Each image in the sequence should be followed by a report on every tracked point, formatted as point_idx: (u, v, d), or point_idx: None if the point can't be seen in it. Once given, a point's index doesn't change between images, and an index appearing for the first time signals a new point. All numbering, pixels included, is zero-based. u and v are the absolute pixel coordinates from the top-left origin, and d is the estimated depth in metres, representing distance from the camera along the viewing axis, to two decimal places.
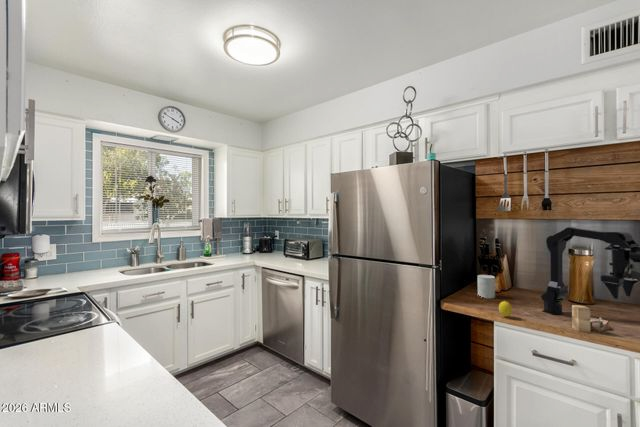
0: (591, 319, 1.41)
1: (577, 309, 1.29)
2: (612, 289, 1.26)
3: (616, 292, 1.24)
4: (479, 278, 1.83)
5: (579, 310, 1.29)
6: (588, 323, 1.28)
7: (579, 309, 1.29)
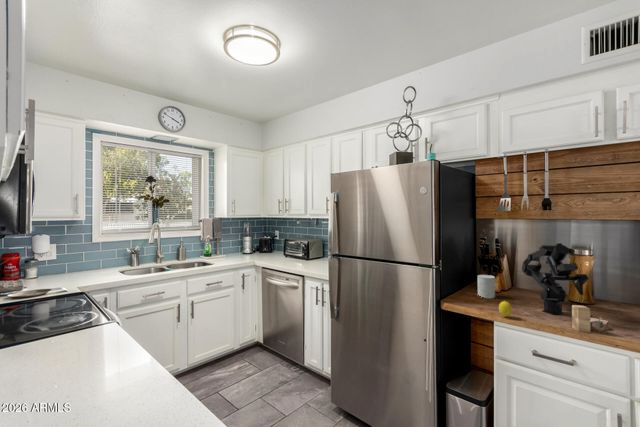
0: (591, 319, 1.41)
1: (577, 309, 1.29)
2: (552, 287, 1.42)
3: (554, 287, 1.40)
4: (479, 278, 1.83)
5: (579, 310, 1.29)
6: (588, 323, 1.28)
7: (579, 309, 1.29)
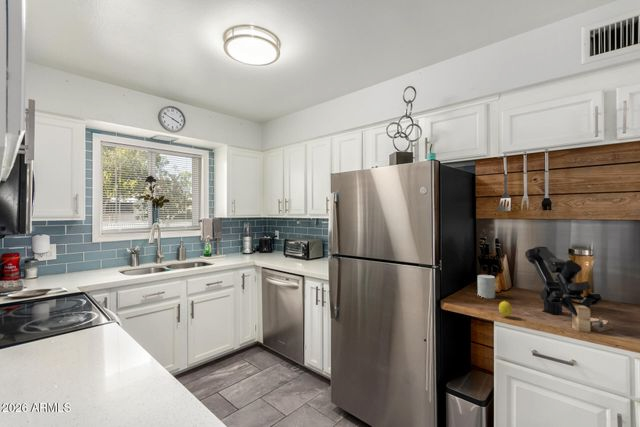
0: (591, 319, 1.41)
1: (577, 309, 1.29)
2: (569, 307, 1.33)
3: (571, 308, 1.31)
4: (479, 278, 1.83)
5: (579, 310, 1.29)
6: (588, 323, 1.28)
7: (579, 309, 1.29)
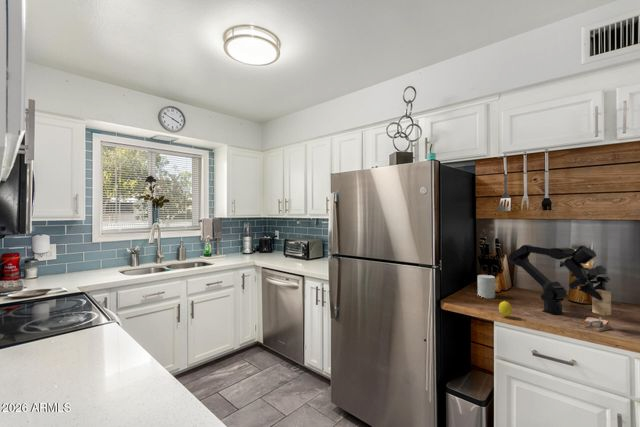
0: (591, 319, 1.41)
1: (602, 294, 1.30)
2: (591, 292, 1.33)
3: (595, 293, 1.31)
4: (479, 278, 1.83)
5: (604, 294, 1.30)
6: (609, 306, 1.31)
7: (604, 293, 1.30)
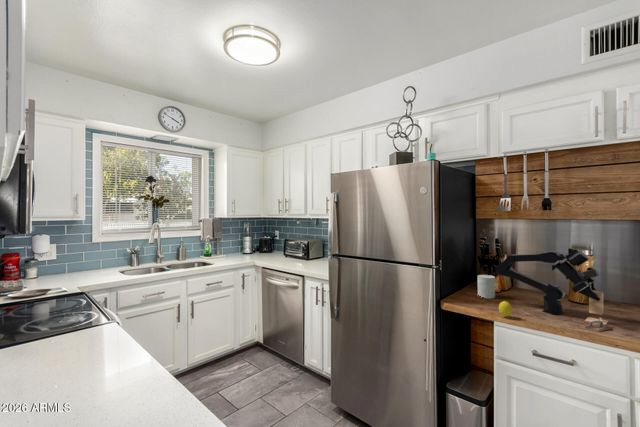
0: (591, 319, 1.41)
1: (599, 294, 1.37)
2: (589, 294, 1.39)
3: (594, 294, 1.38)
4: (479, 278, 1.83)
5: (602, 294, 1.37)
6: None
7: (601, 294, 1.37)
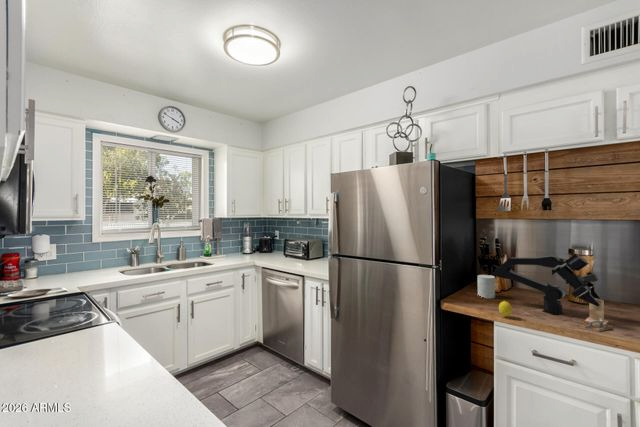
0: None
1: (599, 302, 1.37)
2: (589, 299, 1.38)
3: (593, 299, 1.37)
4: (479, 278, 1.83)
5: (602, 302, 1.37)
6: (603, 313, 1.39)
7: (602, 302, 1.37)
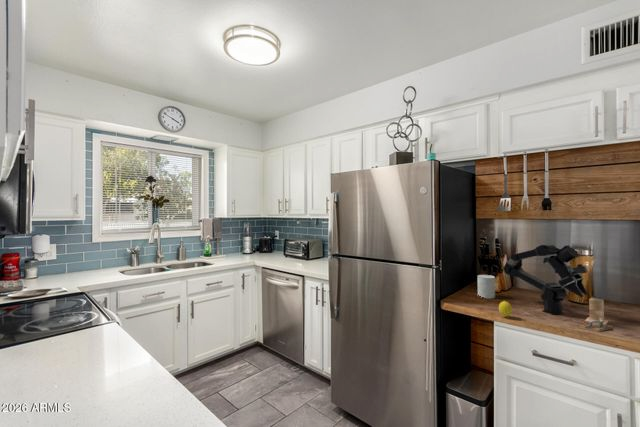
0: None
1: (599, 302, 1.37)
2: (574, 290, 1.41)
3: (578, 290, 1.39)
4: (479, 278, 1.83)
5: (602, 302, 1.37)
6: (603, 313, 1.39)
7: (602, 302, 1.37)
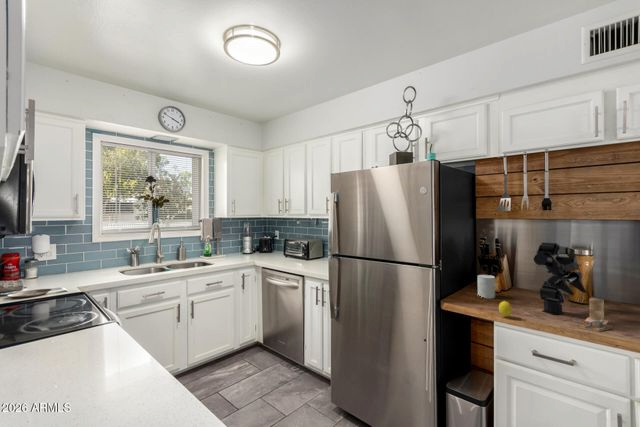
0: None
1: (599, 302, 1.37)
2: (564, 288, 1.39)
3: (567, 288, 1.38)
4: (479, 278, 1.83)
5: (602, 302, 1.37)
6: (603, 313, 1.39)
7: (602, 302, 1.37)
